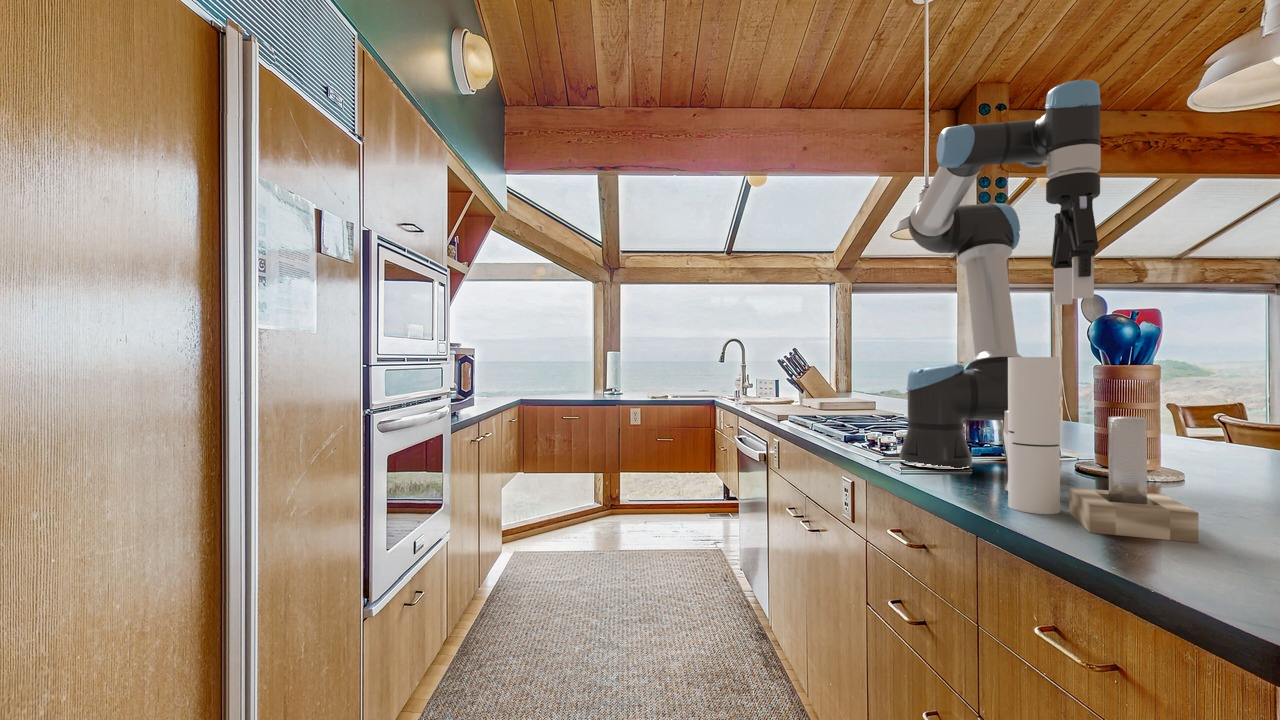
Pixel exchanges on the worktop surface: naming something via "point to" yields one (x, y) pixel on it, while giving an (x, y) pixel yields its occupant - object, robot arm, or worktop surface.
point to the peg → (1127, 459)
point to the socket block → (1134, 516)
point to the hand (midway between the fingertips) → (1072, 301)
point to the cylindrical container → (1034, 434)
